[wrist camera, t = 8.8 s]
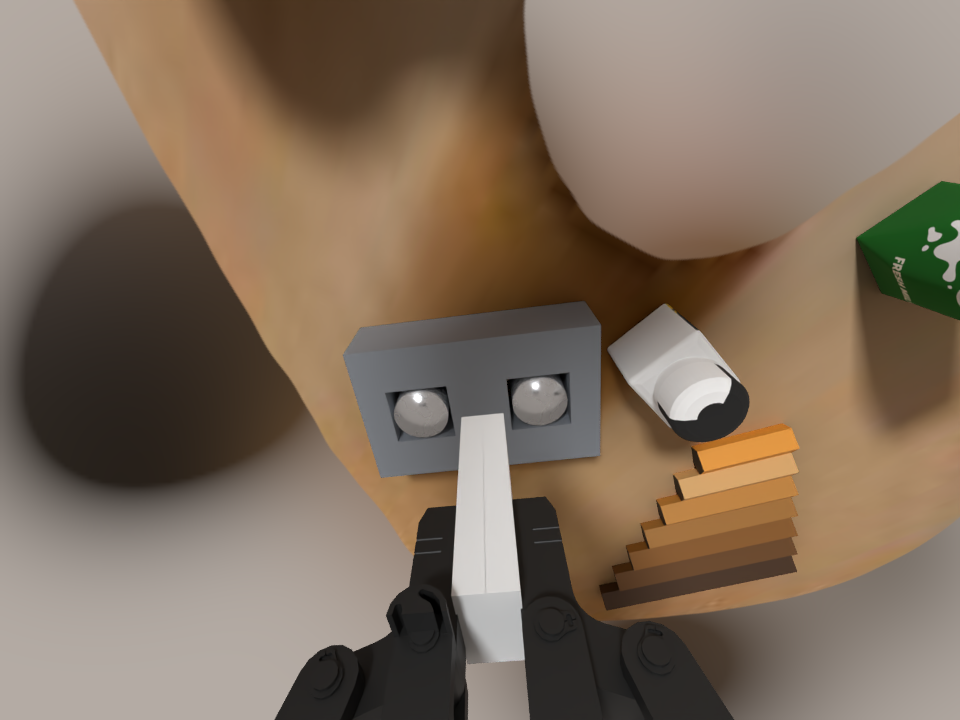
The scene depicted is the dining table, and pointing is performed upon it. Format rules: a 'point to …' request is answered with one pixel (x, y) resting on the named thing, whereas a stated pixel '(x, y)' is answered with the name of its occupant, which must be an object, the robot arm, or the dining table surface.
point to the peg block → (479, 382)
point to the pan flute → (717, 522)
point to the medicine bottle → (681, 376)
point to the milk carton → (920, 251)
